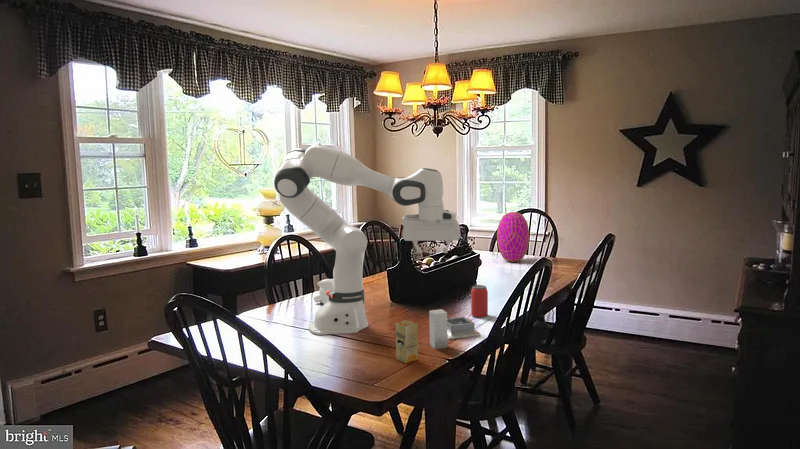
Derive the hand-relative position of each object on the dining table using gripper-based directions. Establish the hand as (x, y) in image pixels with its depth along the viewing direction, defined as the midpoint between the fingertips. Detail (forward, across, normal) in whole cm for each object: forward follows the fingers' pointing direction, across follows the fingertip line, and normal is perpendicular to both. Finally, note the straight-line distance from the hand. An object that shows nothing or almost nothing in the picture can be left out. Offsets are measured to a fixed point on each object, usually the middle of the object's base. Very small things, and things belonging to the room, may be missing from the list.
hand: (432, 253), depth 200 cm
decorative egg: (+30, +31, +147) cm, 153 cm away
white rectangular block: (+30, +3, -12) cm, 32 cm away
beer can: (+30, +15, +26) cm, 43 cm away
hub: (+30, +8, +3) cm, 31 cm away
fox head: (+30, -50, +38) cm, 69 cm away
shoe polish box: (+30, -6, -26) cm, 40 cm away
